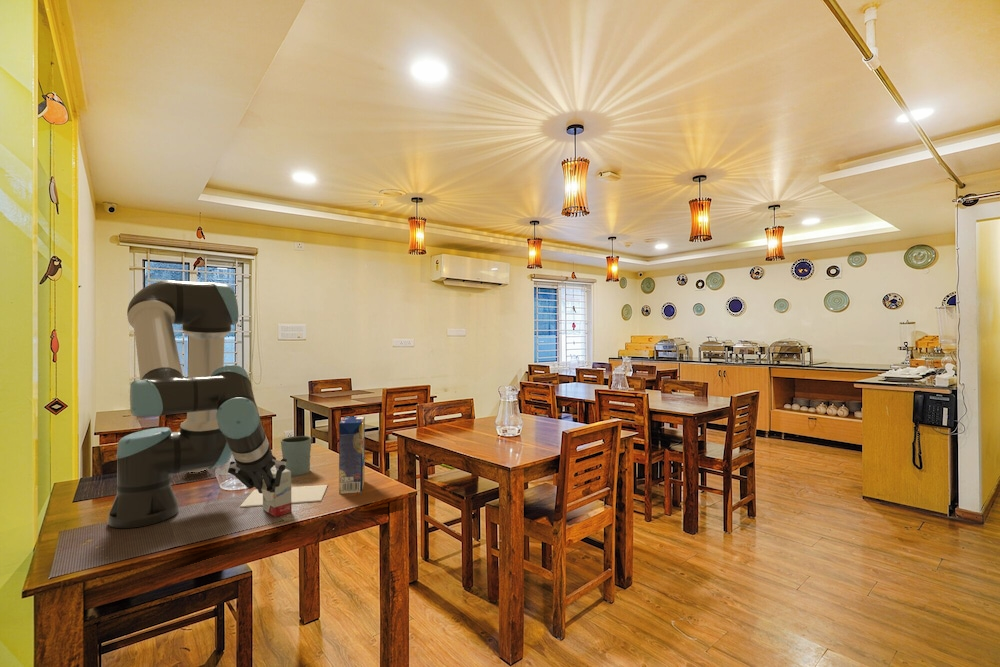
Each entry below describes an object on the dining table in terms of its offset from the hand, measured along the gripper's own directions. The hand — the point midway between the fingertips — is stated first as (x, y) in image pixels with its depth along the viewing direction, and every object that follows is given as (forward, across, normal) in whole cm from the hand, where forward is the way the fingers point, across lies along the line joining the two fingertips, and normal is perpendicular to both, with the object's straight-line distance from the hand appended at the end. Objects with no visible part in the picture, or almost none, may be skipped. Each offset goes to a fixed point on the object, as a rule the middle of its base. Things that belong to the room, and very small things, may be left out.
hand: (270, 496), depth 123 cm
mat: (+19, 0, +9) cm, 21 cm away
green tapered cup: (+37, -2, +27) cm, 46 cm away
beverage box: (+22, +19, +12) cm, 32 cm away
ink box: (+11, 0, +1) cm, 11 cm away
